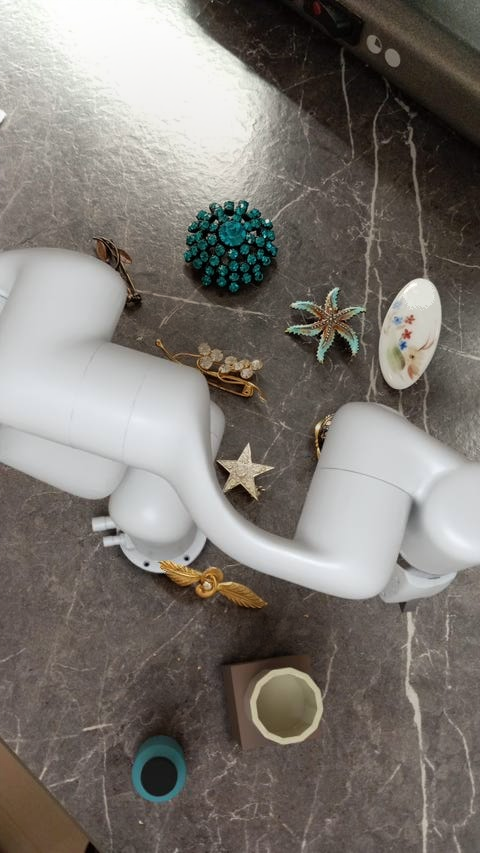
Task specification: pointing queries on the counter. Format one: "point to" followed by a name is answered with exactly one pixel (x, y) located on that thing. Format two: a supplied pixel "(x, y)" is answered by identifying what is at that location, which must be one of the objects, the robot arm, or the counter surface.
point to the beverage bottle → (159, 769)
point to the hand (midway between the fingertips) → (380, 555)
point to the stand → (235, 690)
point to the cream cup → (283, 704)
